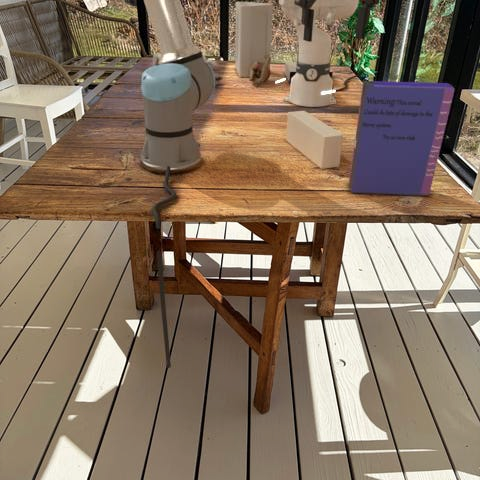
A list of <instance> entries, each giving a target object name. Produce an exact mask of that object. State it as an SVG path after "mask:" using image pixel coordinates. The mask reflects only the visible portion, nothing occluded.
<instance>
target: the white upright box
mask: <svg viewBox="0 0 480 480" xmlns="http://www.w3.org/2000/svg"><path fill="white" fill-rule="evenodd" d="M273 8H274V4H273V3H269V2H267V3H266V2H265V3H264V2H252V1H235V59H234V60H235V62H234V63H235V65H234V66H235V68H234V69H235V71H236V73H237V75H238V77H239V78H250V75H249V69H250V67H251V66H252V65H253V64H254V62H256V61H258V62H263V63H265V62H266V60H267V59H265V55H269V56H270V57H271V56H272V55H271V54H272V33H273V32H272V31H273V10H274V9H273ZM271 58H272V57H271ZM269 69H270V70H271V63H270V64H269Z"/></svg>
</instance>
